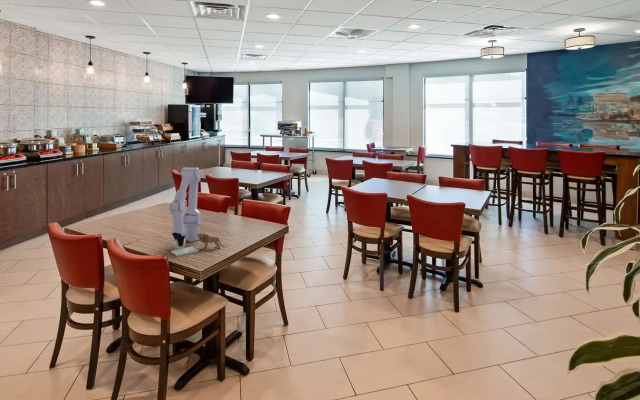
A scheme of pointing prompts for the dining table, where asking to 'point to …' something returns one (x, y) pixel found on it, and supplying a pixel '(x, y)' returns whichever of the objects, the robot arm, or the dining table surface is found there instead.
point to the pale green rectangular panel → (184, 251)
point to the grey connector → (175, 244)
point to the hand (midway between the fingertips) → (179, 245)
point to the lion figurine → (208, 239)
